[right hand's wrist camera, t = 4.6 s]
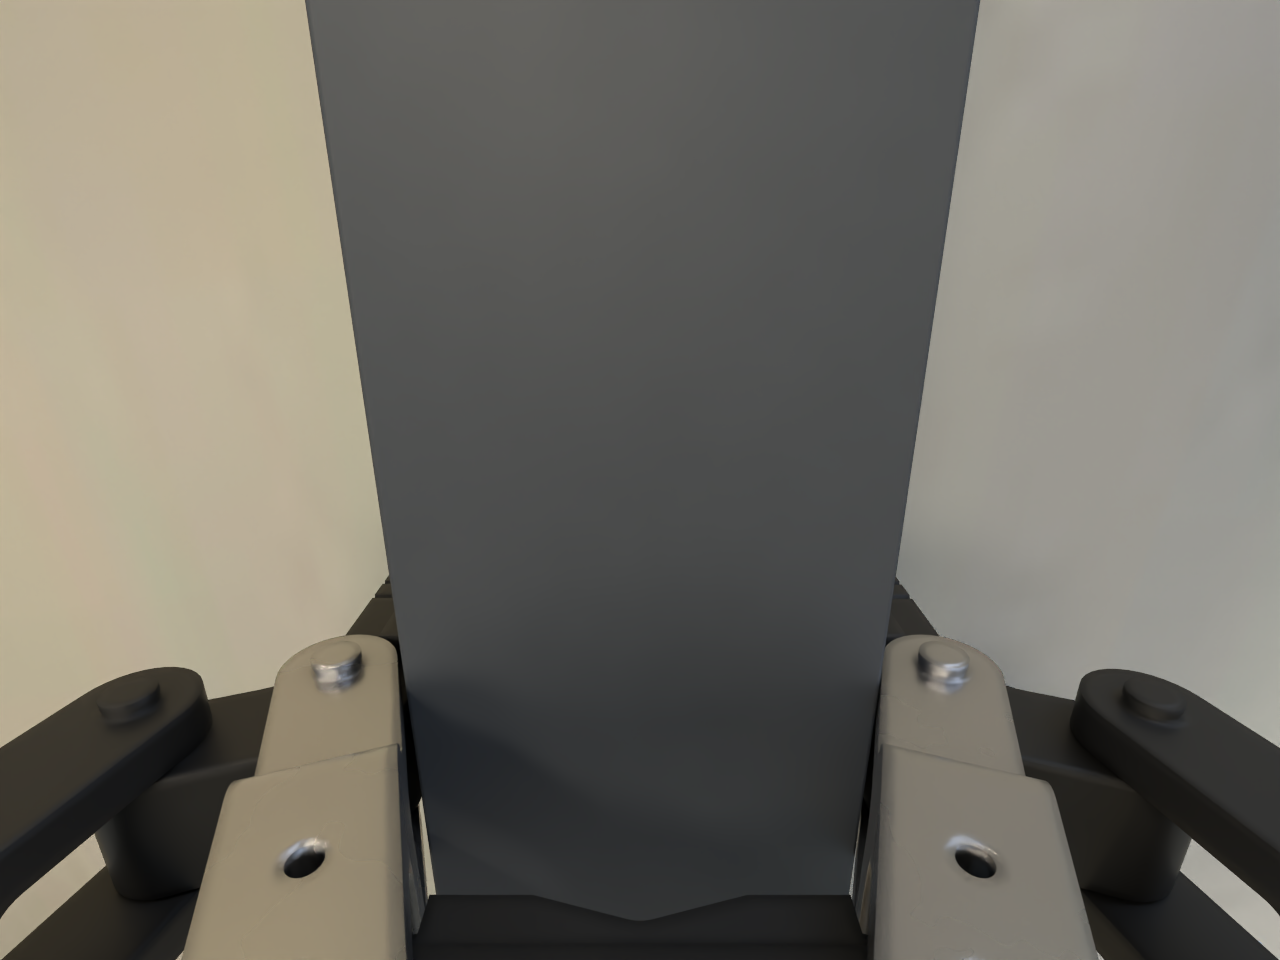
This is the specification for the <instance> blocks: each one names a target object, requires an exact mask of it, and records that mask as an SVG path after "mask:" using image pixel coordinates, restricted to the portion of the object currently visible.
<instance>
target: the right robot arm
mask: <svg viewBox="0 0 1280 960" xmlns="http://www.w3.org/2000/svg"><path fill="white" fill-rule="evenodd" d="M421 797H422V794H421V787H420V781H419V774H418V767H417V760H416V753H415V746H414V740H413V733H412V726H411V719H410V712H409V706H408V699H407V692H406V685H405V678H404V671H403V665H402V658H401V651H400V644H399V637H398V630H397V624H396V617H395V610H394V603H393V596H392V590H391V583H390V576H388V577H387V579H386V580H385V584H382V586H381V587H380V588H379V590H378V591H377V593H376V594H375V598H372V600H371V601H370V602H369V604H368V605H367V606H366V608H365V609H364V611H363V612H362V613H361V615H360V616H359V617H358V619H357V620H356V622H355V623H354V624H353V626H352V627H351V629H350V630H349V631H348V633H347V634H346V635H345V636H340V637H336V638H331V639H328V640H325V641H321V642H319V643H316V644H314V645H311V646H309V647H307V648H305V649H303V650H302V651H300V652H298V653H297V654H295V655H294V656H293V657H291V658H290V659H289V660H288V661H287V662H286V663H285V664H284V665H283V666H282V667H281V669H280V670H279V672H278V674H277V677H276V680H275V685H274V687H270V688H266V689H261V690H257V691H251V692H246V693H241V694H236V695H231V696H226V697H221V698H216V699H211V700H208V699H207V695H206V691H205V688H204V684H203V681H202V678H201V676H200V675H199V674H198V673H196V672H194V671H192V670H190V669H186V668H179V667H162V668H154V669H148V670H143V671H139V672H135V673H131V674H128V675H125V676H122V677H119V678H117V679H114V680H112V681H109V682H107V683H105V684H103V685H101V686H99V687H97V688H95V689H93V690H91V691H89V692H88V693H86V694H84V695H83V696H81V697H80V698H78V699H76V700H75V701H73V702H72V703H70V704H69V705H67V706H65V707H64V708H62V709H61V710H59V711H58V712H56V713H55V714H53V715H51V716H50V717H48V718H47V719H45V720H44V721H42V722H40V723H39V724H37V725H36V726H34V727H33V728H31V729H29V730H28V731H26V732H25V733H23V734H22V735H20V736H18V737H17V738H15V739H14V740H12V741H11V742H9V743H7V744H6V745H4V746H3V747H1V748H0V918H1V917H2V915H3V914H4V913H5V911H6V910H7V909H8V907H9V906H10V905H11V904H12V903H13V902H14V901H15V900H16V899H17V898H18V897H19V896H20V895H21V894H22V893H23V892H25V891H26V890H27V889H28V888H29V887H31V886H32V885H33V884H34V883H35V882H37V881H38V880H39V879H40V878H41V877H43V876H44V875H45V874H46V873H47V872H48V871H50V870H51V869H52V868H53V867H54V866H56V865H57V864H58V863H59V862H60V861H62V860H63V859H64V858H65V857H66V856H68V855H69V854H70V853H71V852H72V851H74V850H75V849H76V848H77V847H78V846H79V845H81V844H82V843H83V842H84V841H85V840H87V839H88V838H89V837H90V836H91V835H93V834H95V836H96V839H97V842H98V844H99V847H100V850H101V852H102V855H103V858H104V860H105V863H106V866H105V867H104V868H103V869H102V870H101V871H100V872H98V873H97V874H96V875H95V876H94V877H93V878H92V879H91V880H90V881H88V882H87V883H86V884H85V885H84V886H83V887H82V888H81V889H80V890H78V891H77V892H76V893H75V894H74V895H73V896H72V897H71V898H69V899H68V900H67V901H66V902H65V903H64V904H63V905H62V906H61V907H59V908H58V909H57V910H56V911H55V912H54V913H53V914H52V915H51V916H49V917H48V918H47V919H46V920H45V921H44V922H43V923H42V924H41V925H39V926H38V927H37V928H36V929H35V930H34V931H33V932H32V933H31V934H29V935H28V936H27V937H26V938H25V939H24V940H23V941H22V942H21V943H19V944H18V945H17V946H16V947H15V948H14V949H13V950H12V951H11V952H9V953H8V954H7V955H6V956H5V957H4V958H3V959H2V960H176V959H177V957H178V956H179V955H180V954H181V953H182V952H183V951H184V952H183V955H182V959H181V960H1099V959H1098V955H1097V952H1098V953H1099V954H1100V955H1101V956H1102V957H1103V959H1104V960H1278V959H1277V958H1276V957H1275V956H1274V955H1273V954H1272V953H1271V952H1270V951H1268V950H1267V949H1266V948H1265V947H1264V946H1263V945H1262V944H1261V943H1259V942H1258V941H1257V940H1256V939H1255V938H1254V937H1253V936H1252V935H1251V934H1249V933H1248V932H1247V931H1246V930H1245V929H1244V928H1243V927H1242V926H1241V925H1239V924H1238V923H1237V922H1236V921H1235V920H1234V919H1233V918H1232V917H1231V916H1229V915H1228V914H1227V913H1226V912H1225V911H1224V910H1223V909H1222V908H1221V907H1219V906H1218V905H1217V904H1216V903H1215V902H1214V901H1213V900H1212V899H1211V898H1209V897H1208V896H1207V895H1206V894H1205V893H1204V892H1203V891H1202V890H1201V889H1199V888H1198V887H1197V886H1196V885H1195V884H1194V883H1193V882H1192V881H1190V880H1189V879H1188V878H1187V877H1186V876H1185V875H1184V874H1183V873H1182V872H1180V868H1181V865H1182V863H1183V860H1184V857H1185V855H1186V852H1187V849H1188V847H1189V844H1190V841H1191V839H1193V840H1195V841H1196V842H1197V843H1198V844H1199V845H1201V846H1202V847H1203V848H1204V849H1205V850H1207V851H1208V852H1209V853H1210V854H1211V855H1212V856H1214V857H1215V858H1216V859H1217V860H1218V861H1220V862H1221V863H1222V864H1223V865H1224V866H1226V867H1227V868H1228V869H1229V870H1230V871H1232V872H1233V873H1234V874H1235V875H1236V876H1238V877H1239V878H1240V879H1241V880H1242V881H1243V882H1245V883H1246V884H1247V885H1248V886H1249V887H1251V888H1252V889H1253V890H1254V891H1255V892H1257V893H1258V894H1259V895H1260V896H1261V897H1263V898H1264V899H1265V900H1266V901H1267V902H1268V903H1269V904H1270V905H1271V906H1272V907H1273V908H1274V909H1275V911H1276V912H1277V913H1278V914H1279V916H1280V748H1279V747H1277V746H1276V745H1274V744H1273V743H1271V742H1269V741H1268V740H1266V739H1265V738H1263V737H1262V736H1260V735H1258V734H1257V733H1255V732H1254V731H1252V730H1251V729H1249V728H1247V727H1246V726H1244V725H1243V724H1241V723H1240V722H1238V721H1236V720H1235V719H1233V718H1232V717H1230V716H1229V715H1227V714H1226V713H1224V712H1222V711H1221V710H1219V709H1218V708H1216V707H1215V706H1213V705H1211V704H1210V703H1208V702H1207V701H1205V700H1204V699H1202V698H1200V697H1199V696H1197V695H1195V694H1194V693H1192V692H1190V691H1189V690H1187V689H1184V688H1182V687H1180V686H1178V685H1176V684H1174V683H1171V682H1169V681H1166V680H1164V679H1161V678H1158V677H1155V676H1152V675H1148V674H1144V673H1140V672H1135V671H1130V670H1122V669H1102V670H1096V671H1092V672H1090V673H1088V674H1086V675H1085V676H1084V677H1083V678H1082V679H1081V682H1080V685H1079V688H1078V692H1077V696H1076V699H1075V700H1069V699H1064V698H1059V697H1054V696H1049V695H1044V694H1039V693H1034V692H1029V691H1024V690H1020V689H1015V688H1012V687H1009V686H1006V685H1005V680H1004V677H1003V674H1002V672H1001V670H1000V669H999V667H998V666H997V665H996V664H995V663H994V662H993V661H992V660H991V659H990V658H989V657H987V656H986V655H985V654H983V653H982V652H980V651H978V650H977V649H975V648H973V647H971V646H969V645H966V644H964V643H961V642H959V641H955V640H952V639H949V638H944V637H940V636H939V635H938V634H937V632H936V631H935V630H934V628H933V627H932V625H931V624H930V623H929V621H928V620H927V619H926V617H925V616H924V615H923V613H922V612H921V610H920V609H919V608H918V606H917V605H916V604H915V602H914V601H913V600H912V599H910V598H909V594H908V593H907V591H906V590H905V589H904V587H903V586H902V585H899V580H898V579H897V578H896V577H895V583H894V590H893V597H892V604H891V611H890V617H889V624H888V631H887V638H886V645H885V651H884V658H883V665H882V672H881V679H880V686H879V692H878V699H877V706H876V713H875V720H874V726H873V733H872V740H871V747H870V754H869V760H868V767H867V774H866V781H865V788H864V795H863V801H862V808H861V815H860V822H859V829H858V835H857V845H856V858H855V871H854V883H853V896H852V899H851V895H744V896H741V897H737V898H733V899H729V900H725V901H721V902H717V903H713V904H710V905H706V906H702V907H698V908H694V909H690V910H686V911H682V912H678V913H675V914H671V915H667V916H663V917H659V918H655V919H651V920H645V921H635V920H629V919H625V918H621V917H617V916H613V915H609V914H605V913H602V912H598V911H594V910H590V909H586V908H582V907H578V906H574V905H570V904H567V903H563V902H559V901H555V900H551V899H547V898H543V897H539V896H536V895H429V899H428V896H427V883H426V871H425V858H424V845H423V833H422V820H421V814H420V807H419V802H420V799H421ZM1096 951H1097V952H1096Z"/></svg>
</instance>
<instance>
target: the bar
mask: <svg viewBox="0 0 1280 960" xmlns="http://www.w3.org/2000/svg"><path fill="white" fill-rule="evenodd" d="M305 3H306V10H307V17H308V23H309V30H310V37H311V44H312V51H313V57H314V64H315V71H316V78H317V85H318V92H319V98H320V105H321V112H322V119H323V126H324V133H325V139H326V146H327V153H328V160H329V167H330V173H331V180H332V187H333V194H334V201H335V208H336V214H337V221H338V228H339V235H340V242H341V248H342V255H343V262H344V269H345V276H346V283H347V289H348V296H349V303H350V310H351V317H352V324H353V330H354V337H355V344H356V351H357V358H358V364H359V371H360V378H361V385H362V392H363V399H364V405H365V412H366V419H367V426H368V433H369V439H370V446H371V453H372V460H373V467H374V474H375V480H376V487H377V494H378V501H379V508H380V515H381V521H382V528H383V535H384V542H385V549H386V555H387V562H388V569H389V576H390V583H391V590H392V596H393V603H394V610H395V617H396V624H397V630H398V637H399V644H400V651H401V658H402V665H403V671H404V678H405V685H406V692H407V699H408V706H409V712H410V719H411V726H412V733H413V740H414V746H415V753H416V760H417V767H418V774H419V781H420V787H421V794H422V801H423V808H424V815H425V821H426V828H427V835H428V842H429V849H430V856H431V862H432V869H433V876H434V883H435V890H436V895H536V896H539V897H543V898H547V899H551V900H555V901H559V902H563V903H567V904H570V905H574V906H578V907H582V908H586V909H590V910H594V911H598V912H602V913H605V914H609V915H613V916H617V917H621V918H625V919H629V920H635V921H645V920H651V919H655V918H659V917H663V916H667V915H671V914H675V913H678V912H682V911H686V910H690V909H694V908H698V907H702V906H706V905H710V904H713V903H717V902H721V901H725V900H729V899H733V898H737V897H741V896H744V895H849V890H850V883H851V876H852V869H853V863H854V856H855V849H856V842H857V835H858V829H859V822H860V815H861V808H862V801H863V795H864V788H865V781H866V774H867V767H868V760H869V754H870V747H871V740H872V733H873V726H874V720H875V713H876V706H877V699H878V692H879V686H880V679H881V672H882V665H883V658H884V651H885V645H886V638H887V631H888V624H889V617H890V611H891V604H892V597H893V590H894V583H895V577H896V570H897V563H898V556H899V549H900V542H901V536H902V529H903V522H904V515H905V508H906V502H907V495H908V488H909V481H910V474H911V468H912V461H913V454H914V447H915V440H916V434H917V427H918V420H919V413H920V406H921V399H922V393H923V386H924V379H925V372H926V365H927V359H928V352H929V345H930V338H931V331H932V325H933V318H934V311H935V304H936V297H937V290H938V284H939V277H940V270H941V263H942V256H943V250H944V243H945V236H946V229H947V222H948V216H949V209H950V202H951V195H952V188H953V181H954V175H955V168H956V161H957V154H958V147H959V141H960V134H961V127H962V120H963V113H964V107H965V100H966V93H967V86H968V79H969V72H970V66H971V59H972V52H973V45H974V38H975V32H976V25H977V18H978V11H979V4H980V0H305Z"/></svg>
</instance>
